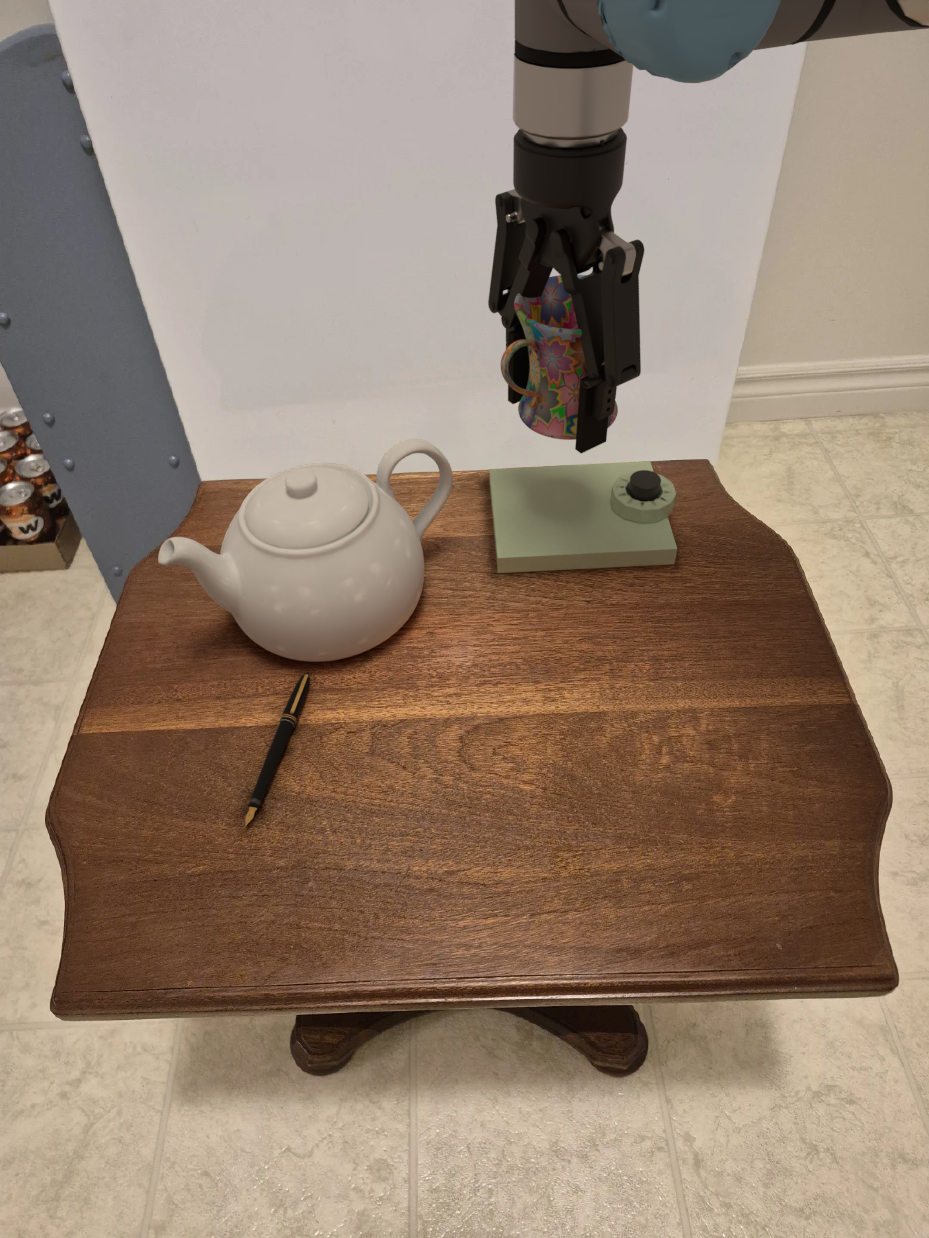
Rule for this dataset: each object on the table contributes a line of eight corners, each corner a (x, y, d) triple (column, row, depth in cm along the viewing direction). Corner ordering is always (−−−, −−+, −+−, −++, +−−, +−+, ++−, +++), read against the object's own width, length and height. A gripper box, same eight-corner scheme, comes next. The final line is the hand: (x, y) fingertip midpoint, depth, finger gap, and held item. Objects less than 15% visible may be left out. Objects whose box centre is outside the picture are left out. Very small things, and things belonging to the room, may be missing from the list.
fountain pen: (254, 834, 59) (250, 823, 58) (238, 831, 59) (233, 821, 58) (316, 677, 69) (313, 665, 68) (302, 675, 69) (299, 663, 68)
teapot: (403, 694, 67) (386, 570, 57) (192, 658, 70) (140, 535, 61) (459, 541, 79) (452, 416, 69) (276, 516, 83) (245, 395, 73)
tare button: (655, 482, 79) (657, 469, 78) (661, 501, 77) (663, 487, 76) (625, 484, 79) (627, 470, 78) (631, 502, 77) (632, 489, 76)
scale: (656, 475, 85) (661, 446, 83) (683, 563, 76) (690, 534, 74) (489, 484, 85) (488, 455, 83) (497, 573, 76) (497, 544, 74)
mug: (568, 378, 78) (575, 263, 70) (644, 420, 72) (660, 302, 65) (467, 428, 73) (462, 311, 65) (540, 478, 67) (545, 357, 60)
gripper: (731, 158, 51) (676, 463, 68) (517, 81, 63) (514, 356, 80) (639, 189, 48) (605, 500, 65) (434, 102, 60) (449, 382, 77)
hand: (555, 420), depth 72 cm, fingers closed on mug, 8 cm apart
